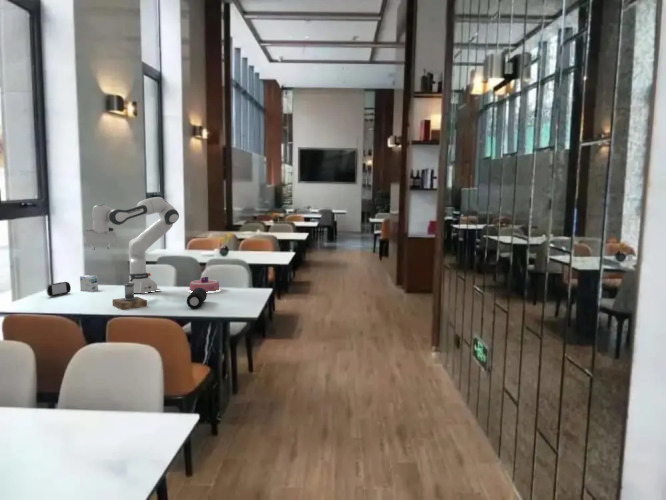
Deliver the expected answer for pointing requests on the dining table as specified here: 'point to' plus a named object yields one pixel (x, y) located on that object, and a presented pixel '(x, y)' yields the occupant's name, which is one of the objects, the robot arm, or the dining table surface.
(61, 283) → the gaming console
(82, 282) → the light bulb box
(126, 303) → the stand
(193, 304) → the portable speaker
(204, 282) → the cake
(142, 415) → the dining table surface
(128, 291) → the cylinder
